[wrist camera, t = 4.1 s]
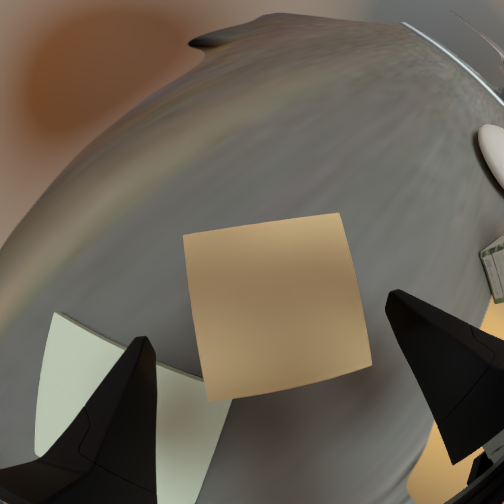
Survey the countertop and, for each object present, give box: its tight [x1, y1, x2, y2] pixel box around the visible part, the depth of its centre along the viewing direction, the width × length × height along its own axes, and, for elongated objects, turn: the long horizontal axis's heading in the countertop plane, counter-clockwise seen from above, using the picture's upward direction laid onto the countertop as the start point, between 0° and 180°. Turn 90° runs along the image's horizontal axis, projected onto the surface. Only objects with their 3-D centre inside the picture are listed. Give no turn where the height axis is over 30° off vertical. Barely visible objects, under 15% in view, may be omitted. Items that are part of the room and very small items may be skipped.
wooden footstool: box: [183, 213, 372, 402], centre depth 13 cm, size 5×5×10 cm
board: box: [35, 312, 232, 504], centre depth 14 cm, size 14×14×1 cm
